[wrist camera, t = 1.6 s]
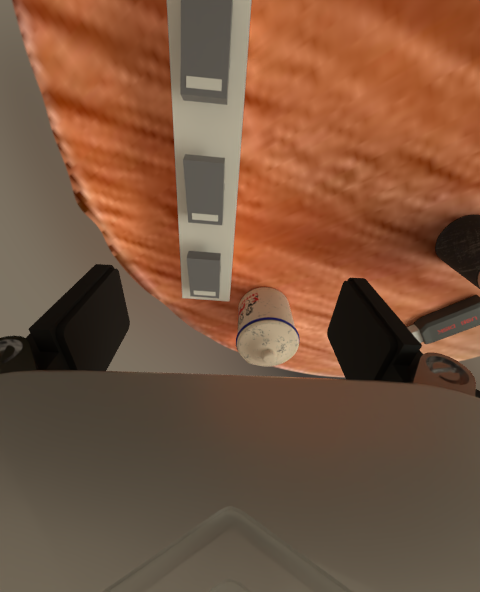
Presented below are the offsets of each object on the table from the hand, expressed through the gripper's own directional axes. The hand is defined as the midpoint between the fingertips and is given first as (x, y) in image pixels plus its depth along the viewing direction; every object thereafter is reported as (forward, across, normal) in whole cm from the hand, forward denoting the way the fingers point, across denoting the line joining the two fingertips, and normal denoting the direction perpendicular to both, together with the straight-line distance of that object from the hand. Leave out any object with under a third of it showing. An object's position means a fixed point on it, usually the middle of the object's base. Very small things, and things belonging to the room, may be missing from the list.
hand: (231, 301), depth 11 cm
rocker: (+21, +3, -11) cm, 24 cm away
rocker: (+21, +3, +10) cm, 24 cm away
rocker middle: (+21, +3, 0) cm, 22 cm away
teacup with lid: (+27, -6, +20) cm, 34 cm away
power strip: (+26, +3, -3) cm, 27 cm away
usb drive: (+26, -37, +20) cm, 50 cm away
